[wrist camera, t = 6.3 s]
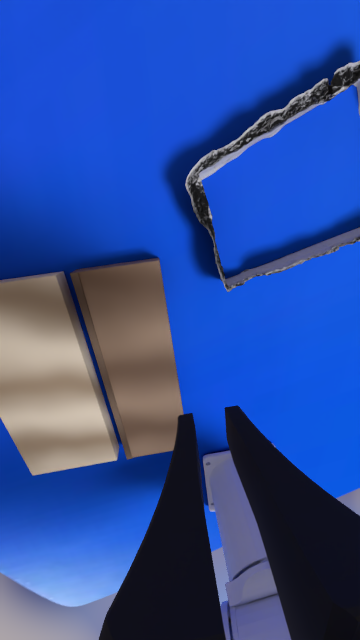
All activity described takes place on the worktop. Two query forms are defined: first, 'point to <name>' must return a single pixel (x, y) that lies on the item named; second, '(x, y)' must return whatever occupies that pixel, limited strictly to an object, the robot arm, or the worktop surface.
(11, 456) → the worktop surface
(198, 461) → the robot arm
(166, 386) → the walnut strip
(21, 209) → the worktop surface
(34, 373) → the maple plank
